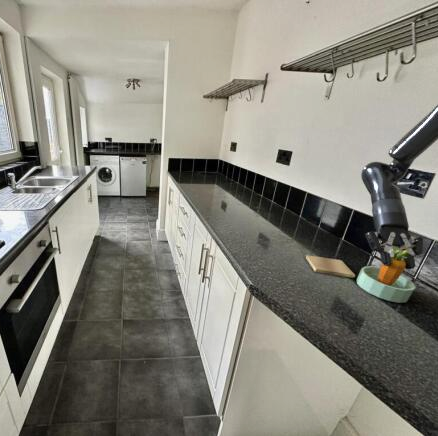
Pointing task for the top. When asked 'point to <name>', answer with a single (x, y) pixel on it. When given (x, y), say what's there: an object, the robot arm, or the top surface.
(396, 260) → the carrot
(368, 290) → the bowl
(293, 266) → the top surface
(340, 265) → the cutting board
